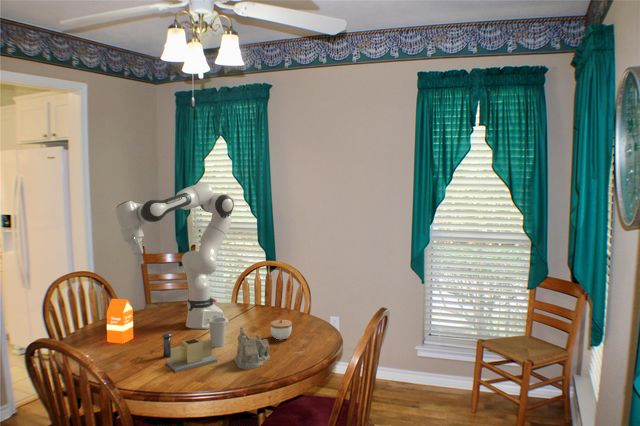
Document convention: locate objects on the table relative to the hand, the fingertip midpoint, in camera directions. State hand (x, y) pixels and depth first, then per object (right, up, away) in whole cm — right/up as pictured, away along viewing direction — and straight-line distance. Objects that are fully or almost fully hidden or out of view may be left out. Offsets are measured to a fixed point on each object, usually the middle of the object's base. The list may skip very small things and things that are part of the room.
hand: (142, 264), depth 212 cm
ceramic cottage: (+54, -40, -15) cm, 69 cm away
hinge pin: (+16, -39, -12) cm, 44 cm away
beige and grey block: (+28, -39, -18) cm, 51 cm away
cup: (+35, -39, +3) cm, 52 cm away
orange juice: (-13, -38, +7) cm, 41 cm away
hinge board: (+28, -40, -18) cm, 52 cm away
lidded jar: (+64, -38, +13) cm, 75 cm away
